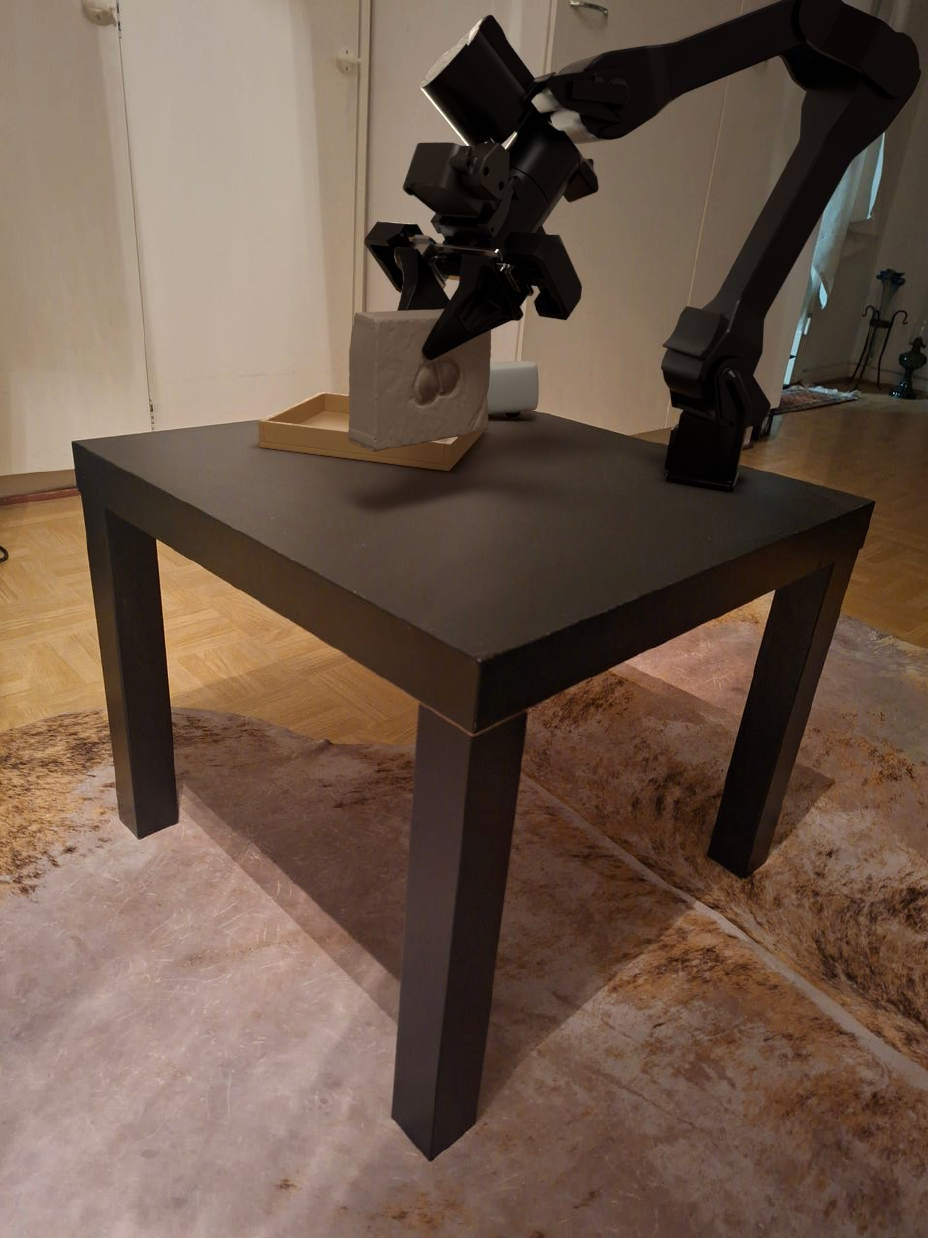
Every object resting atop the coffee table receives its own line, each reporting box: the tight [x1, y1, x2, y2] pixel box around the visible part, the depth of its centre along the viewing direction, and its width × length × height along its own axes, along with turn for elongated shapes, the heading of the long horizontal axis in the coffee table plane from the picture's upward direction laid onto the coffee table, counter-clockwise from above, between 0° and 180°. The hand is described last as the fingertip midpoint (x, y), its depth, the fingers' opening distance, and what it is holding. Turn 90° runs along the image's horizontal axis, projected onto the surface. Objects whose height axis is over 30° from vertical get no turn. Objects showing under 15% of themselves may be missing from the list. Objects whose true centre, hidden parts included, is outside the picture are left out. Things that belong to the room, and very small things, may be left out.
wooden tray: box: [257, 391, 484, 472], centre depth 88 cm, size 19×17×3 cm
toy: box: [487, 360, 540, 420], centre depth 101 cm, size 12×6×15 cm
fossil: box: [348, 309, 492, 452], centre depth 65 cm, size 12×4×10 cm, turn 134°
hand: (408, 352), depth 63 cm, fingers closed on fossil, 3 cm apart
